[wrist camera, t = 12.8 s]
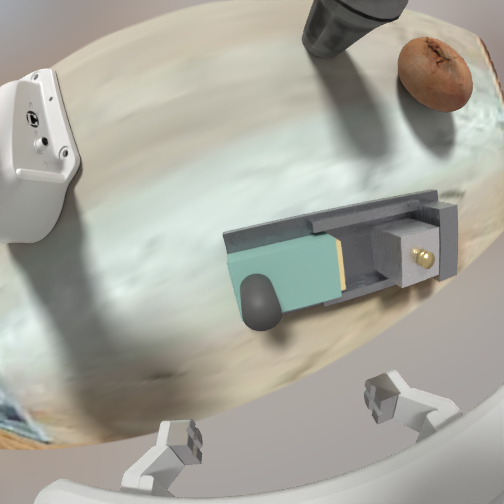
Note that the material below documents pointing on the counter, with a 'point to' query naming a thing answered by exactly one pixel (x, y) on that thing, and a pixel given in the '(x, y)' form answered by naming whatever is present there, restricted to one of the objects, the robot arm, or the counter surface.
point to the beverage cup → (345, 23)
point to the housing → (406, 250)
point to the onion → (435, 74)
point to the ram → (286, 277)
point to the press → (359, 236)
